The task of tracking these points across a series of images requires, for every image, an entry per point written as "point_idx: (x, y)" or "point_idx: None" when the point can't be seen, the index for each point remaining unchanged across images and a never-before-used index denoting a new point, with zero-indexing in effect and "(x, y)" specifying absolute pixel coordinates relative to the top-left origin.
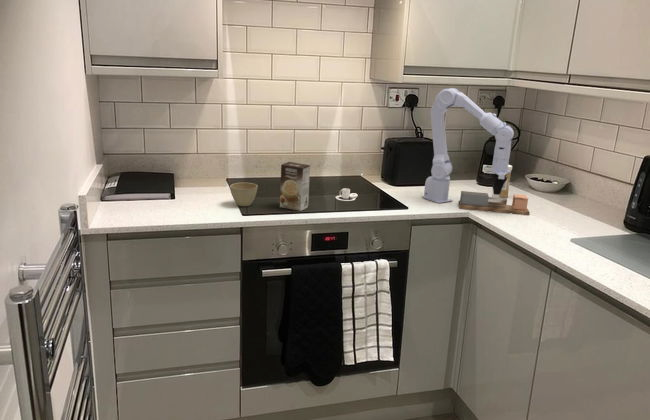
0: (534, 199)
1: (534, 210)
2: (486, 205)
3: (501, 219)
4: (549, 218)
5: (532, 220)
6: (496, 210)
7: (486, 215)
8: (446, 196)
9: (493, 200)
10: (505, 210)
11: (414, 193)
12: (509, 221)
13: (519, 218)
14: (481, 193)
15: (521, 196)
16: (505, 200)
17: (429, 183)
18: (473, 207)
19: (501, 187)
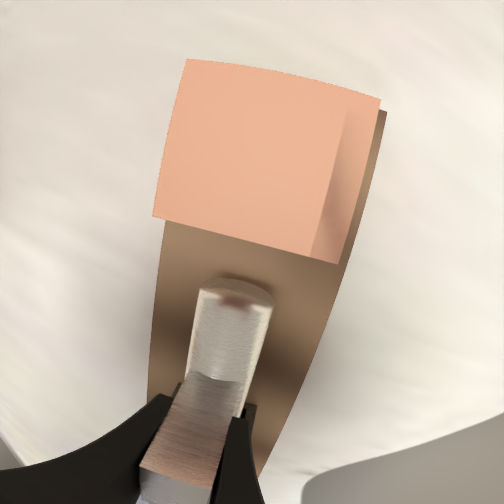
0: (16, 2)
1: (226, 17)
2: (254, 416)
3: (452, 366)
4: (427, 10)
5: (490, 163)
6: (309, 360)
7: (371, 421)
8: (140, 499)
9: (242, 406)
10: (331, 306)
11: None
12: (490, 333)
13: (454, 240)
14: None
15: (261, 144)
16: (261, 325)
17: None
18: (265, 461)
19: (257, 491)
